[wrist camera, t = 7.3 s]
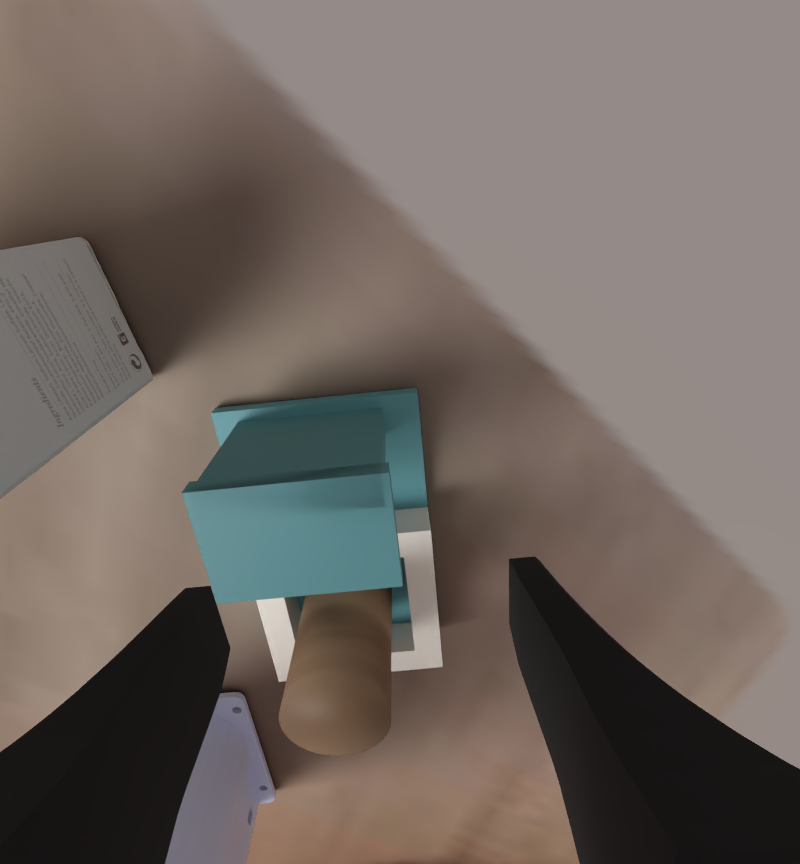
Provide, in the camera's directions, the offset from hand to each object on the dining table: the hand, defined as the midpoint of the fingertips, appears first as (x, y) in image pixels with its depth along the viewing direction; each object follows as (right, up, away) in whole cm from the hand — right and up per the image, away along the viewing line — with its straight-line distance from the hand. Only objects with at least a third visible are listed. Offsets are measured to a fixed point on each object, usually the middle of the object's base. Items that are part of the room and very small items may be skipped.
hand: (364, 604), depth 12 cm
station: (-2, 0, +12) cm, 12 cm away
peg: (-2, -3, +12) cm, 13 cm away
